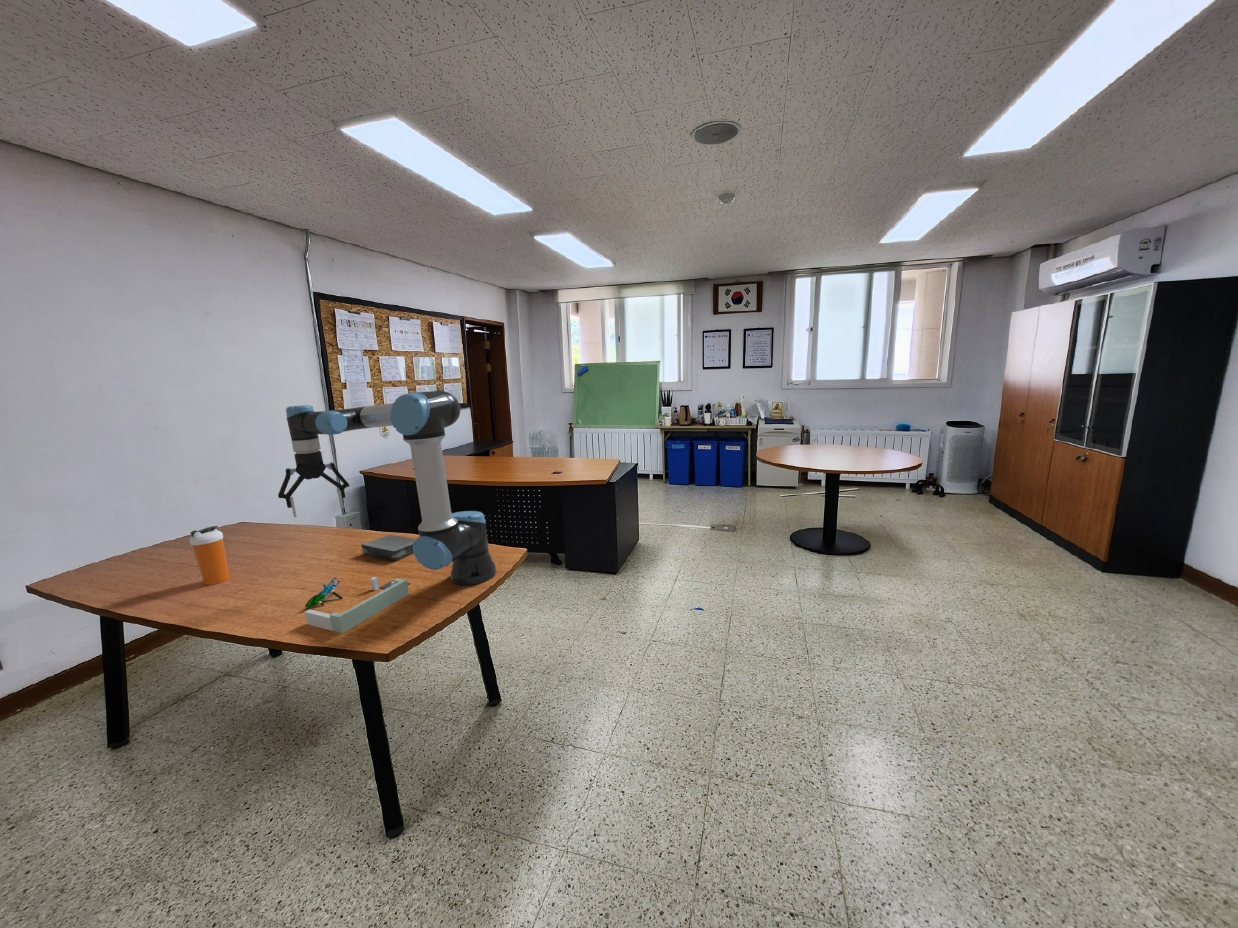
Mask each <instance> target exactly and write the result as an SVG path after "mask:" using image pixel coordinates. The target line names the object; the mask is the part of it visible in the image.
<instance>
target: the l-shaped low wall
mask: <svg viewBox="0 0 1238 928" xmlns="http://www.w3.org/2000/svg"><path fill="white" fill-rule="evenodd" d="M369 582H370V586H371V590H372V591H377V590H379V589H380V585H379V579H378V577H376V576H373V577H371V578H370V581H369ZM390 582H391V581H390ZM392 585H394V581H393V582H391V586H392ZM330 614H331V613H326V612H323V611H318V610H314V609H309V608H308V609H307V610H306V611H304V615H305V620H306V621H305V622H306V625H309V626H312V627H315V628H316V627H317V628H320V629H323V630H324V629H325V630H327V631H328V630H329V631H331V632H334V631H333V630H332V625H331V620H330Z"/></svg>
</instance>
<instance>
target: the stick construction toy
mask: <svg viewBox="0 0 1238 928" xmlns="http://www.w3.org/2000/svg"><path fill="white" fill-rule="evenodd" d="M337 579H338V578H337V577H335V576H334V577H333V578H332V579H331V580H330V582H329V583H328V584H327V585H325V584H324V583H322V587H323V588H322V590H321V591H319V593H317V594H315V595H313V596H312V597H310V599H308V601H306V603H305V606H304V608H305V609H309V608H311V607H312V606H316V605H319V606H322V607H323V606H325V603H323V601H324V600H325V599H326V597H328V595H329V594H330V595H331V596H333V595H334V596H335V597H336V598H338V599H340V600H342V599H343V596H342V595H340V594H338V593H337V592H336V590H334V589H336V587H337V586H338V585H340V584H341V581H340V580H337ZM334 580H337V583H336V584H335V581H334Z"/></svg>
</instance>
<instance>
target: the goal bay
mask: <svg viewBox="0 0 1238 928" xmlns="http://www.w3.org/2000/svg"><path fill="white" fill-rule="evenodd" d="M393 580H394V585H392V586H390V587H388V588H387V589H383V590H381V591H379V592H378V593H375V594H374V595H372V596H370V597H368V598H367V599H365V600H363V601H361V602H359V603H357V604H356V605H353V606H352V607H350V608H348V609H346V610H345V611H343V612H341V613H340V612H336V611H334V612H332V613H329V614H330V620H331V625H332V630H333V631H332V632H335V633H339V634H344V633H346V632H347V631H349V630H350V629H353V628H354V627H355V626H356V627H357V626H358V625H359V624H361V623H363V622H364V621H367V620H368V619H369V618H371V617H373V616H374V615H376V614H378V613H380V612H381V611H383V610H384V609H386V608H388V607H390V606H391V605H393V604H394V603H397V602H398V601H399V600H401V599H403V598H405V597H407V596H408V595H410V594H409V587H408V586H409V585H408V586H407V583H408V582H407V581H408V580H407V579H403V578H396V579H393Z"/></svg>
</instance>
